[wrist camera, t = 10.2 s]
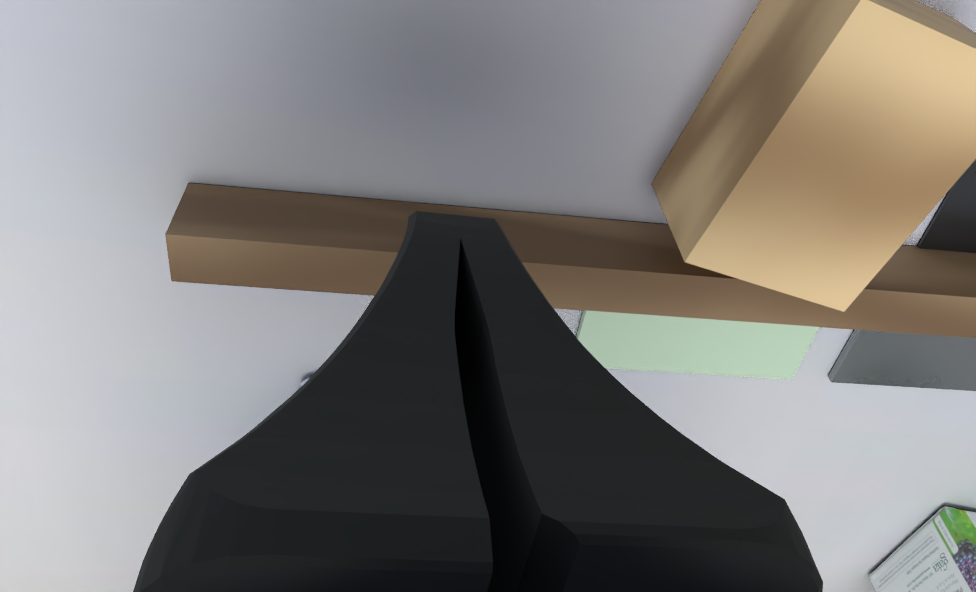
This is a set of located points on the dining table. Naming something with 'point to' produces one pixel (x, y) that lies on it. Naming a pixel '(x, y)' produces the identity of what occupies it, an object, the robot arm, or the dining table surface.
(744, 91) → the oak block
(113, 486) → the dining table surface
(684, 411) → the dining table surface
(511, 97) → the dining table surface
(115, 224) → the dining table surface
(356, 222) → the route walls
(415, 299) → the robot arm
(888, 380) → the trap bay
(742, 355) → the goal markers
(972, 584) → the syrup box
